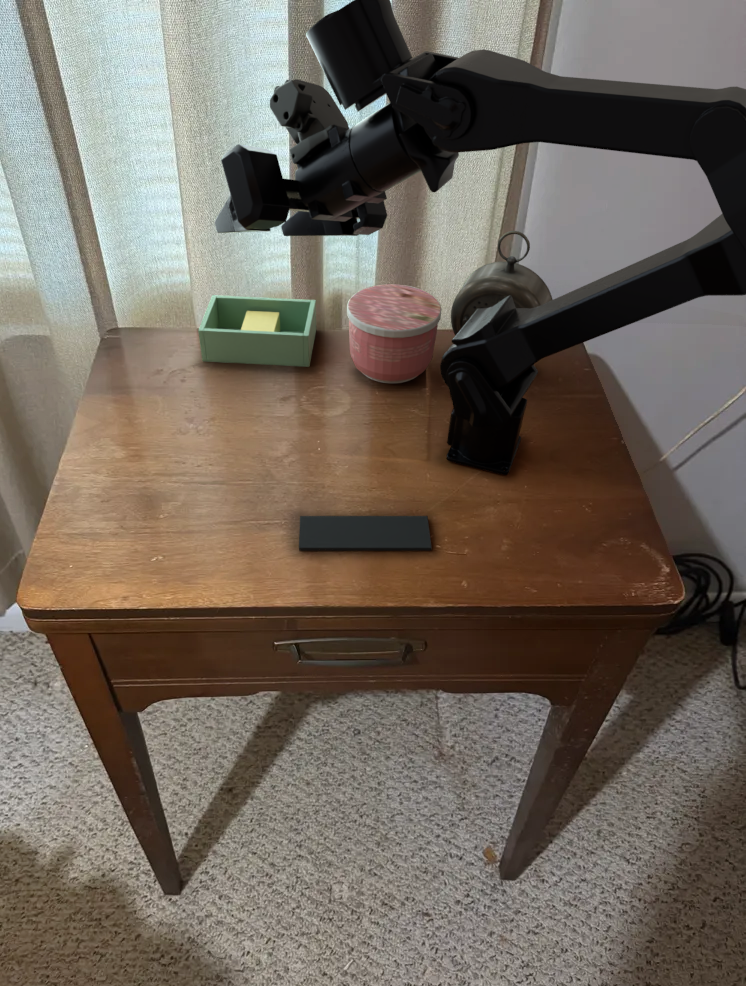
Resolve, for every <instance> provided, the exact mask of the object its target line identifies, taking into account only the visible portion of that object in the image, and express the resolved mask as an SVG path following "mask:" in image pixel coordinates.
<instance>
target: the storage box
mask: <svg viewBox="0 0 746 986" xmlns="http://www.w3.org/2000/svg"><path fill="white" fill-rule="evenodd" d="M247 311H262V312H279V315H280V332H269V331H249V330H241V327H242V324H243V321H244V318H245V315H246V312H247ZM197 332H198V339H199V347H200V354H201V361H202V362H209V363H226V364H227V363H228V364H248V365H266V366H267V365H268V366H285V367H289V366H290V367H303V368H304V367H305V368H306V367H307V368H310V365H311V359H312V354H313V349H314V344H315V339H316V334H317V300H316V299H301V298H300V299H299V298H282V297H260V296H240V295H239V296H238V295H237V296H236V295H216V294H212V295H211V298H210V300H209V302H208V305H207V307H206V310H205V313H204V315H203V317H202V320H201V322H200V325H199V328H198V331H197Z"/></svg>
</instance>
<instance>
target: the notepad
mask: <svg viewBox="0 0 746 986" xmlns="http://www.w3.org/2000/svg"><path fill="white" fill-rule="evenodd" d="M241 330H249V331H269V332H280V315H279V312H262V311H247V312H246V315H245V318H244V321H243V324H242V327H241Z"/></svg>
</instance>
